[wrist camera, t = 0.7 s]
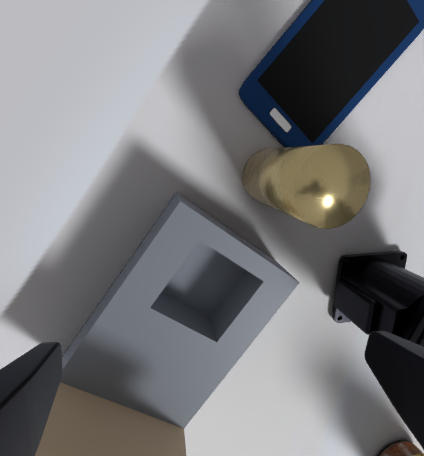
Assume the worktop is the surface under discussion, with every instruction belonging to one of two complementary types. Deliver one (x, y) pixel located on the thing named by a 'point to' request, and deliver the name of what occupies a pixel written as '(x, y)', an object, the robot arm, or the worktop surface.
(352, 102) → the cell phone
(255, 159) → the peg
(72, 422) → the socket block
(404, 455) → the sauce bottle
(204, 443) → the worktop surface
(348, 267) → the robot arm
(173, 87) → the worktop surface
